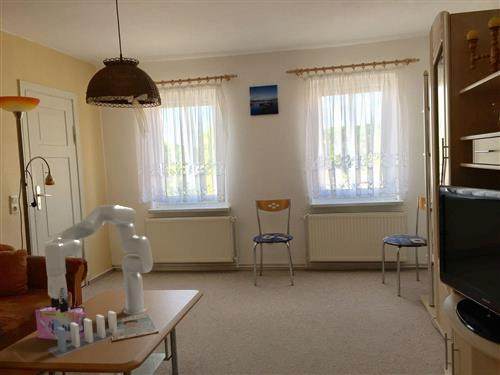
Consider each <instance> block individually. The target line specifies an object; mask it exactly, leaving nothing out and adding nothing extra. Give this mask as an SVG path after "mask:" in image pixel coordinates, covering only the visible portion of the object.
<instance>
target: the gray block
mask: <svg viewBox="0 0 500 375" xmlns="http://www.w3.org/2000/svg"><path fill="white" fill-rule="evenodd" d="M57 338H58V340H57V346H58V350H60V351H61V352H63V353H64V352H66V351H67V349H66V343H67V340H66V336H65V329H64V328H62V327H61V326H60V327H57Z"/></svg>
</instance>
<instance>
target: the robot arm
mask: <svg viewBox="0 0 500 375" xmlns="http://www.w3.org/2000/svg"><path fill="white" fill-rule="evenodd" d="M137 219H138V214H137V212H136V210H135V209H134V208H132V207H127V206H122V205H118V204H101V205H98V206H96V207H95V208H94V209H93V210H92V211H91V212H90V213H89V214H87V215H86V217H85V218H84V219H82V220H81V221H80V222H77V223H76V224H74V225H72V226H70V227H68V228H66V229H64V230H63V231H62V232H60V233H59V234H58V235H57V236H56V237H55V238H54V239H53V240H52V242H50V243H49V242H48V243H46V244H45V246H44V254H45V255H44V256H45V266H46V275H47V295H48V297H50V304H51V305H50V306H51V307H52V308H55V307H58V306H60V313H63V312H67V311H68V306H69V303H68V300H69V299H68V298H69V297H68V296H69V295H68V294H69V293H68V287H67V278H66V274H67V268H66V257H67V258H68V257H74V256H75V257H76V256H78V255H79V254H80V253H82V250H83V243H82V242H81V241H80V240H81V239H85V238H88V237H91V236H94V235H95V234H96V233H97V232H98V231H99V230H100V229H101V228H102V227H103V226H104V225H105V224H106V223H110V224H111V225H114V226H115V227H116V228H117V231H118V234H119V241H120V247H121V250H122V252H123V253H125V254H127V255H124V257H122V259H121V264H120V265H121V270H122V272H123V278H124V280H123V281H124V294H125V302H124V305H125V308H124V309H123V314H125V315H128V316H129V315H131V316H132V315H139V314H142V313H144V312H146V311H147V310H148V307H147V306H146V305H145V303H144V302H145V300H144V299H145V298H144V288H143V287H144V286H143V284H144V283H143V276H142V274H141V273H143V274H145V273H149V272H151V271H152V270H153V266H154V265H153V264H154V261H153V260H154V259H153V254H152V248H151V246H152V245H151V243H150V239H148V237H146V236H143V235H137V234H136V230H135V226H134V223H135V222H136V221H137Z"/></svg>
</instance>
